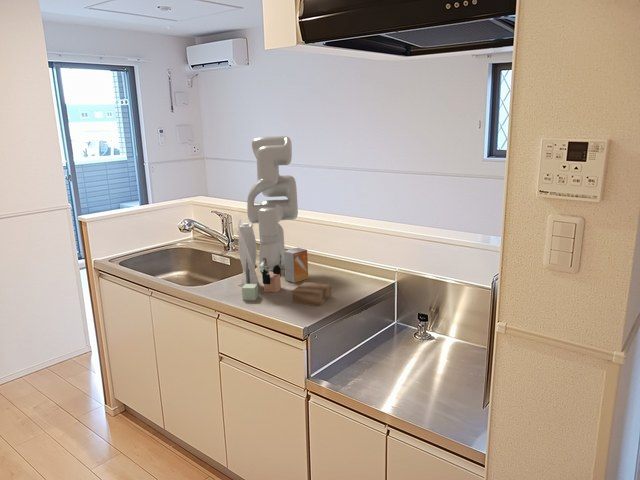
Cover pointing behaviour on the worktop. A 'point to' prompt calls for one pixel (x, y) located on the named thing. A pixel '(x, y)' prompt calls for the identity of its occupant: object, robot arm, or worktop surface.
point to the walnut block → (311, 293)
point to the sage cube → (250, 291)
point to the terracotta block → (273, 283)
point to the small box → (296, 265)
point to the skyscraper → (247, 253)
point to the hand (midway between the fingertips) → (272, 280)
